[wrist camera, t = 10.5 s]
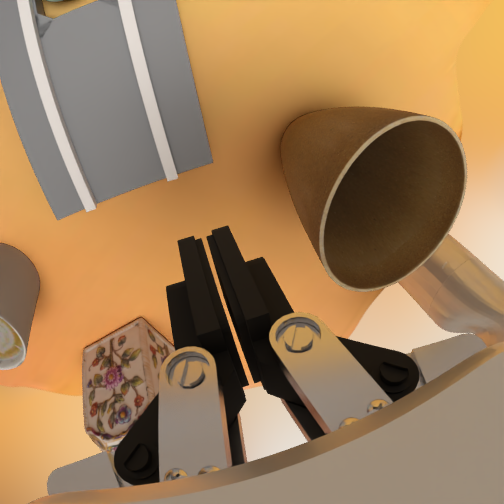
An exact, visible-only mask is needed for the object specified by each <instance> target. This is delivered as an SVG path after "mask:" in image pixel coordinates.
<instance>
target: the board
mask: <svg viewBox="0 0 504 504" xmlns="http://www.w3.org/2000/svg"><path fill="white" fill-rule="evenodd" d="M0 79H1V83H2V86H3V89H4V93H5V96H6V99H7V102H8V105H9V108H10V111H11V114H12V117H13V120H14V123H15V125H16V128H17V131H18V134H19V136H20V139H21V141H22V144H23V146H24V149H25V151H26V154H27V156H28V159H29V161H30V163H31V166H32V168H33V170H34V173H35V175H36V177H37V179H38V182H39V184H40V186H41V188H42V190H43V192H44V194H45V196H46V199H47V201H48V203H49V205H50V207H51V209H52V211H53V213H54V215H55V217H56V219H57V220H60V219H62V218H64V217H67V216H69V215H71V214H73V213H76V212H78V211H81V210H83V209H85V210H86V212H89V211H91V210H94V209H96V207H97V203H100V202H102V201H105V200H107V199H110V198H113V197H115V196H118V195H120V194H123V193H126V192H128V191H131V190H134V189H136V188H139V187H142V186H144V185H147V184H150V183H153V182H156V181H159V180H161V179H164V178H167V181H171V180H174V179H177V178H178V175H177V174H179V173H182V172H185V171H188V170H191V169H194V168H198V167H201V166H204V165H207V164H210V163H213V159H212V155H211V151H210V147H209V143H208V138H207V134H206V130H205V126H204V122H203V117H202V113H201V109H200V105H199V100H198V96H197V92H196V87H195V83H194V79H193V74H192V70H191V66H190V61H189V57H188V53H187V48H186V44H185V39H184V35H183V30H182V26H181V21H180V17H179V12H178V8H177V3H176V0H98V1H95V2H92V3H90V4H87V5H85V6H82V7H80V8H77V9H75V10H72V11H70V12H68V13H65V14H63V15H61V16H59V17H57V18H54V19H52V18H49V17H46V16H45V13H44V8H43V3H42V0H0Z"/></svg>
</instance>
